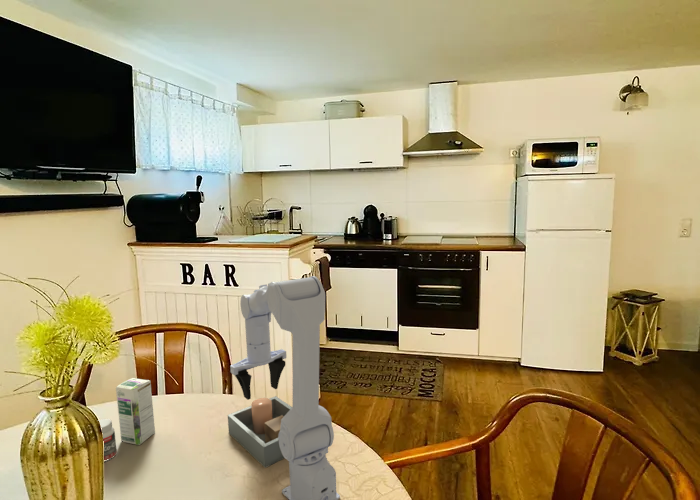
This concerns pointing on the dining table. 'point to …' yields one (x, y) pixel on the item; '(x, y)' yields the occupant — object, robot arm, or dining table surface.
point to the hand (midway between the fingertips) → (261, 392)
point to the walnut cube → (272, 428)
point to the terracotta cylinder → (261, 414)
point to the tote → (253, 442)
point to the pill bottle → (108, 438)
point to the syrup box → (135, 410)
